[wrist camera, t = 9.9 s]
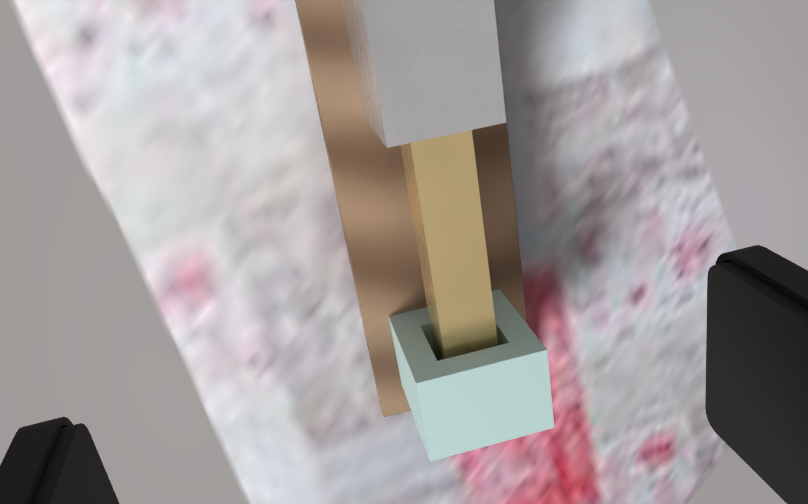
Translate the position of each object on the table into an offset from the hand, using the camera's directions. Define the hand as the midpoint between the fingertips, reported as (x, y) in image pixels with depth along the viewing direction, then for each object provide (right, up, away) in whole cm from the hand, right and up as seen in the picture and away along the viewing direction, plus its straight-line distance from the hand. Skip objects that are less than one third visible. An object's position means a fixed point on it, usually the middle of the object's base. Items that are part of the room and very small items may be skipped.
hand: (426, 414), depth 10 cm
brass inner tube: (+1, +5, +27) cm, 28 cm away
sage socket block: (+3, -3, +33) cm, 34 cm away
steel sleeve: (-1, +16, +25) cm, 30 cm away
